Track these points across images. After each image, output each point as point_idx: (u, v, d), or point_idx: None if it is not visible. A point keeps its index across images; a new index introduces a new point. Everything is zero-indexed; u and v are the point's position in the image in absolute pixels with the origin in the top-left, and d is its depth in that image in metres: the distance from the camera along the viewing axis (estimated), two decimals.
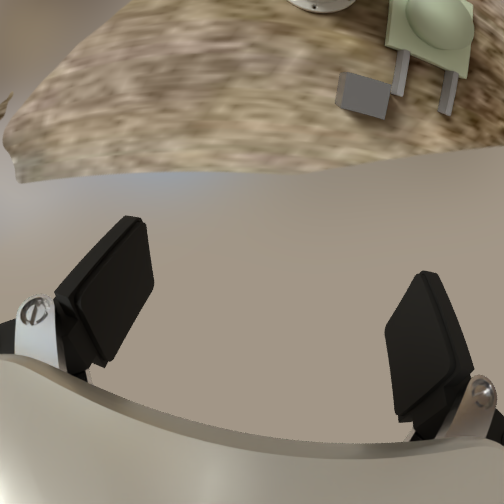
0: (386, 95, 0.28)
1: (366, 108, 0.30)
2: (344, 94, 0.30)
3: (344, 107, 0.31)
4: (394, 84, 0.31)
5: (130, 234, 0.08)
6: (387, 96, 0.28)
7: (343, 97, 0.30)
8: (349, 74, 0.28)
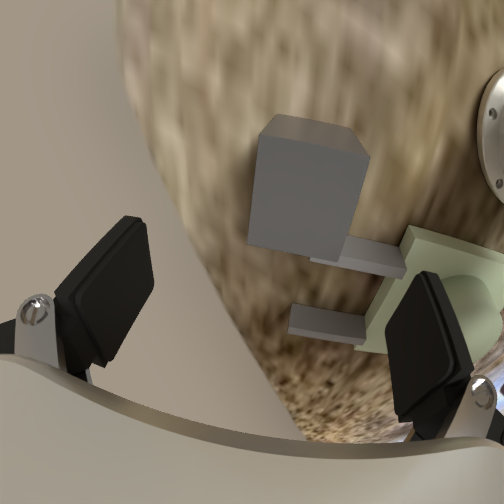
0: (310, 250, 0.15)
1: (267, 203, 0.14)
2: (302, 145, 0.12)
3: (262, 144, 0.12)
4: None
5: (130, 234, 0.08)
6: (307, 252, 0.15)
7: (292, 142, 0.12)
8: (363, 163, 0.11)
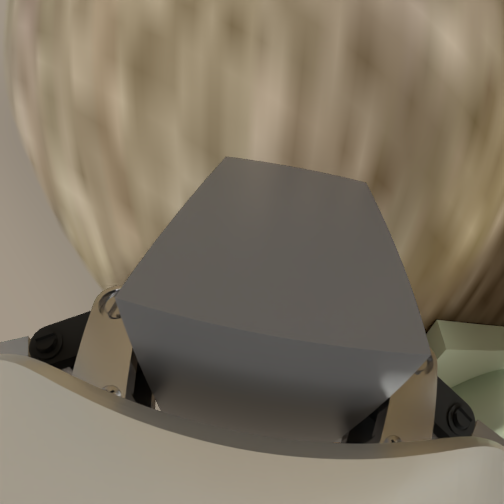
0: None
1: (180, 399, 0.06)
2: (234, 335, 0.04)
3: (130, 320, 0.04)
4: None
5: None
6: None
7: (205, 325, 0.04)
8: (408, 366, 0.04)
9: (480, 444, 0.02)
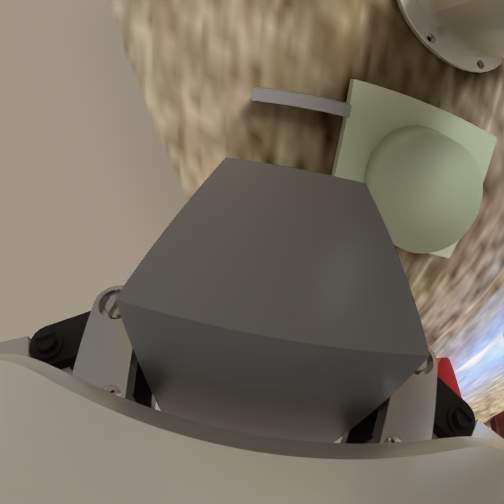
0: None
1: (180, 400, 0.06)
2: (234, 337, 0.04)
3: (130, 321, 0.04)
4: (276, 89, 0.20)
5: None
6: None
7: (205, 327, 0.04)
8: (407, 367, 0.04)
9: (480, 444, 0.02)
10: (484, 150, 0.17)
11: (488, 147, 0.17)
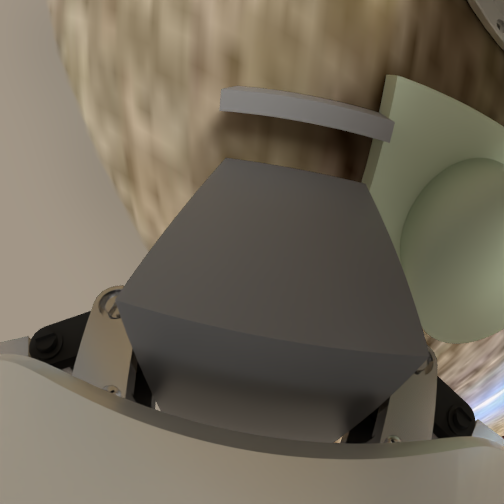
0: None
1: (180, 401, 0.06)
2: (234, 337, 0.04)
3: (130, 322, 0.04)
4: (265, 90, 0.12)
5: None
6: None
7: (205, 328, 0.04)
8: (406, 368, 0.04)
9: (480, 444, 0.02)
10: None
11: None
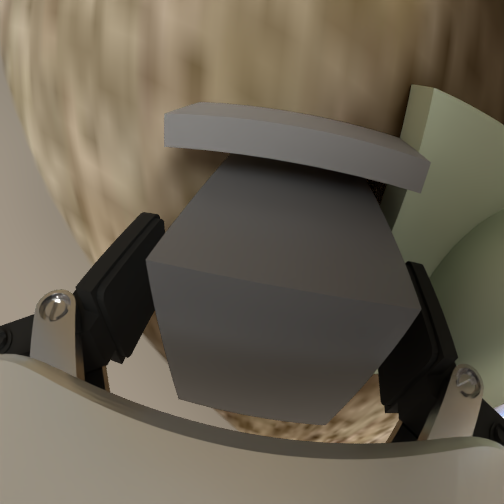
0: (279, 416, 0.08)
1: (194, 367, 0.07)
2: (251, 289, 0.05)
3: (157, 281, 0.05)
4: (235, 108, 0.08)
5: (149, 230, 0.08)
6: (276, 417, 0.08)
7: (226, 281, 0.05)
8: (402, 321, 0.05)
9: (480, 444, 0.02)
10: None
11: None
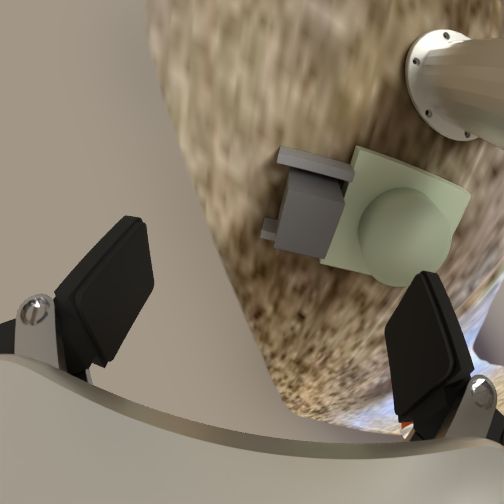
0: (309, 252, 0.26)
1: (287, 225, 0.25)
2: (310, 196, 0.23)
3: (289, 195, 0.23)
4: (296, 152, 0.26)
5: (130, 234, 0.08)
6: (307, 253, 0.26)
7: (305, 194, 0.23)
8: (341, 207, 0.23)
9: (480, 444, 0.02)
10: (459, 205, 0.25)
11: (463, 203, 0.25)
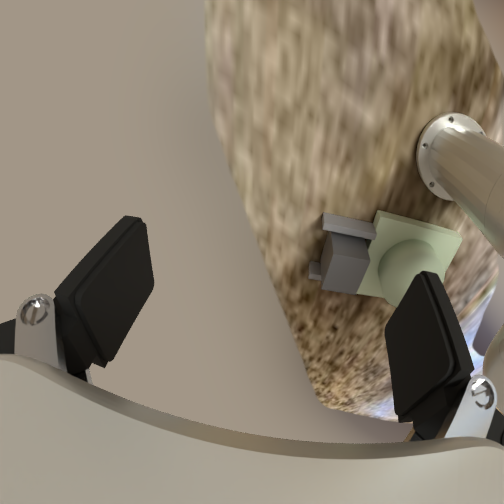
0: (345, 291, 0.37)
1: (332, 275, 0.35)
2: (347, 257, 0.33)
3: (333, 257, 0.34)
4: (335, 218, 0.37)
5: (130, 234, 0.08)
6: (344, 291, 0.37)
7: (344, 256, 0.33)
8: (367, 262, 0.33)
9: (480, 444, 0.02)
10: (452, 247, 0.35)
11: (455, 245, 0.34)
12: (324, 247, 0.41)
